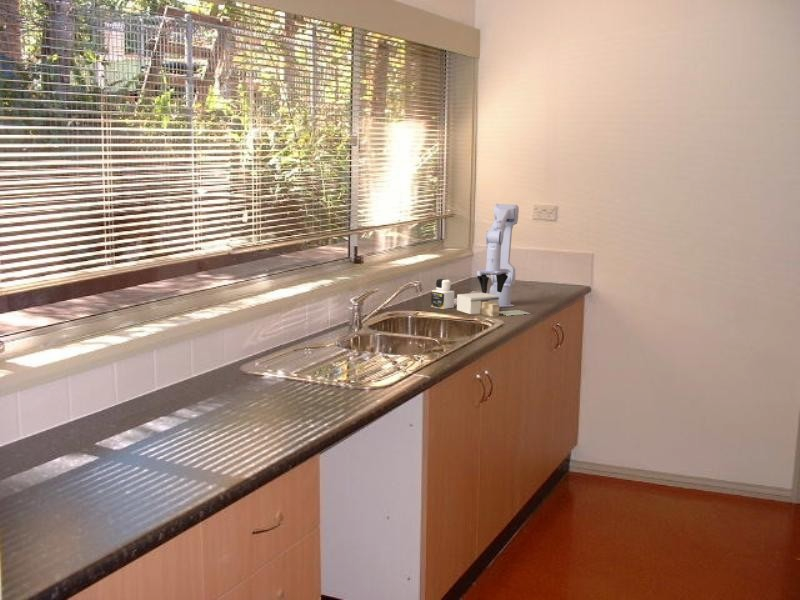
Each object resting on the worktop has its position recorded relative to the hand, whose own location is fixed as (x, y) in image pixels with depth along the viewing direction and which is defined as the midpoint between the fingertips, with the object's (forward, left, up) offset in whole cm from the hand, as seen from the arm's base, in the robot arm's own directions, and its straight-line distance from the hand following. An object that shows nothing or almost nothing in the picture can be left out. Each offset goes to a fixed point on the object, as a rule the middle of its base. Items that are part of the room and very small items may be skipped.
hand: (491, 292), depth 388 cm
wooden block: (-2, 0, -10) cm, 10 cm away
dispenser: (-10, 0, -9) cm, 13 cm away
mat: (0, +11, -9) cm, 14 cm away
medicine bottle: (-23, -9, -10) cm, 26 cm away
